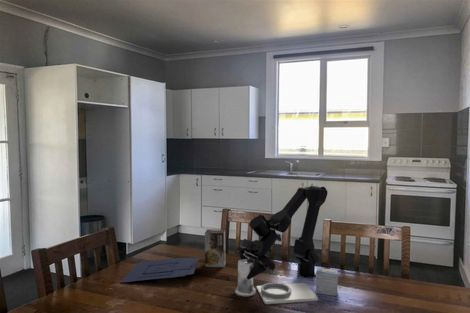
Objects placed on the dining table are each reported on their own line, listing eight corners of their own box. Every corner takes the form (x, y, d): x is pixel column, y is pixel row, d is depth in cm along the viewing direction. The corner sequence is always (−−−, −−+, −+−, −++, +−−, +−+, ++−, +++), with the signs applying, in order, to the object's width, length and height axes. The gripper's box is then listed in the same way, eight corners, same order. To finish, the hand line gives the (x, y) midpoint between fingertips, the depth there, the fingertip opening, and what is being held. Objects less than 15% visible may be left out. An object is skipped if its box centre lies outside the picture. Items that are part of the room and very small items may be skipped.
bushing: (253, 287, 145) (253, 257, 144) (257, 296, 137) (258, 264, 136) (233, 288, 143) (233, 258, 143) (237, 297, 135) (237, 265, 135)
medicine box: (337, 292, 141) (338, 270, 141) (337, 296, 137) (337, 274, 136) (317, 289, 144) (317, 267, 143) (315, 293, 139) (316, 271, 139)
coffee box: (225, 262, 173) (226, 229, 172) (224, 267, 166) (224, 232, 166) (206, 262, 174) (207, 228, 173) (204, 266, 167) (204, 232, 167)
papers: (193, 282, 146) (192, 273, 146) (120, 289, 148) (119, 280, 148) (201, 262, 171) (200, 254, 171) (138, 268, 172) (137, 260, 172)
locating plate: (304, 285, 147) (304, 279, 147) (318, 300, 133) (318, 293, 133) (256, 288, 144) (256, 282, 144) (265, 304, 130) (265, 297, 130)
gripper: (240, 226, 149) (217, 257, 143) (269, 236, 133) (245, 272, 128) (255, 242, 154) (233, 273, 148) (285, 253, 138) (262, 289, 133)
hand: (242, 276), depth 139 cm, fingers closed on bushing, 6 cm apart
